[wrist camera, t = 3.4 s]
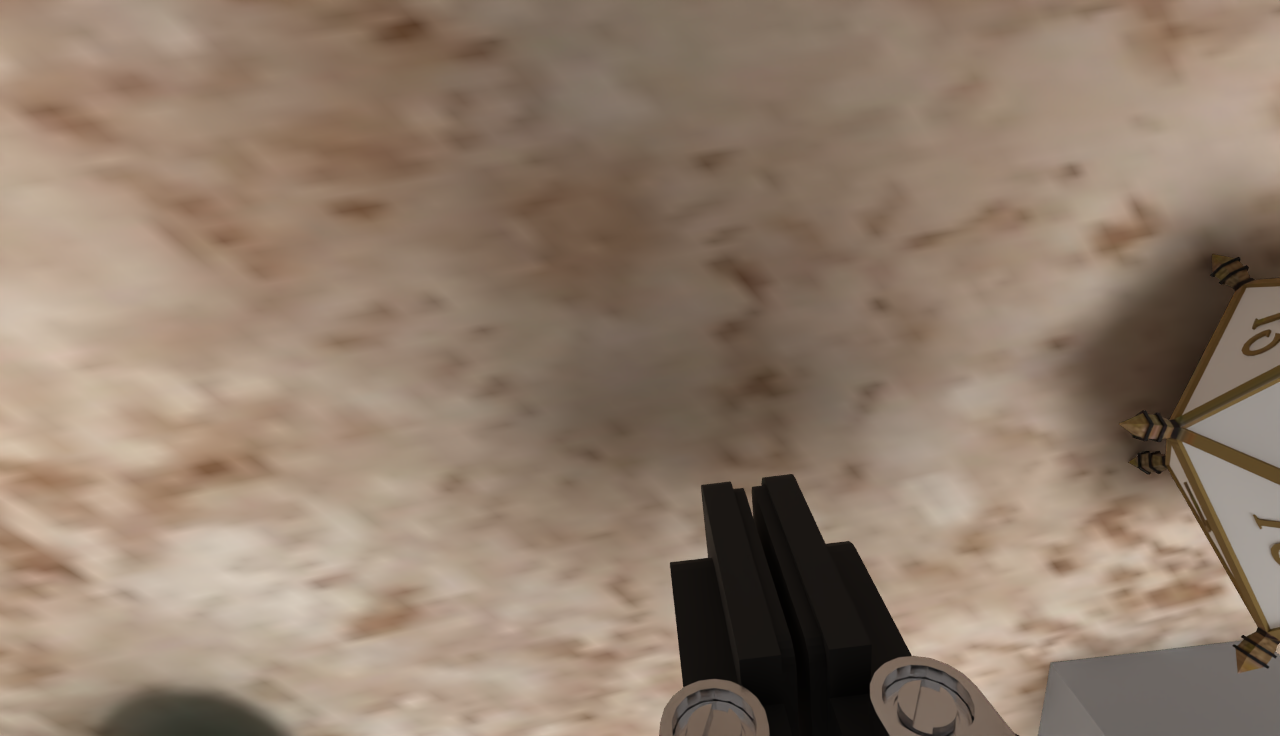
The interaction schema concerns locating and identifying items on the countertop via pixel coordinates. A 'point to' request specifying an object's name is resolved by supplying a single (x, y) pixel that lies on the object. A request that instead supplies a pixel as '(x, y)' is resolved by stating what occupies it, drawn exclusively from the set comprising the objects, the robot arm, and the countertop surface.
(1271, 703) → the slate block
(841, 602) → the robot arm
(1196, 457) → the game die
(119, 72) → the countertop surface
